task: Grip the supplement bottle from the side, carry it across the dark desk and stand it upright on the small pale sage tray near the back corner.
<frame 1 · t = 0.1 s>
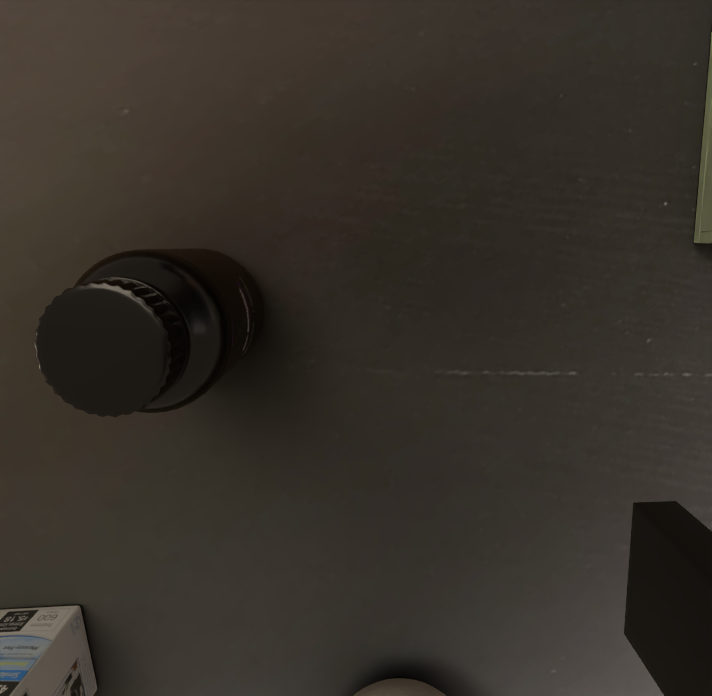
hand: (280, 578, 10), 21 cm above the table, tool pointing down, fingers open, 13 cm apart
supplement bottle: (206, 307, 30), on the table
light bulb box: (14, 649, 35), on the table
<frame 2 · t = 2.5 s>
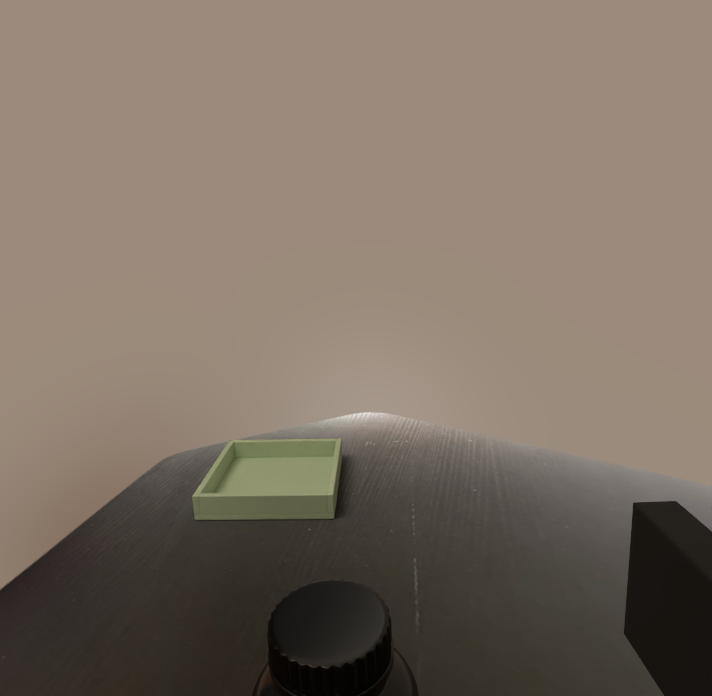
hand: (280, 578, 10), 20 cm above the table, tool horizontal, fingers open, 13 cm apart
tray: (276, 485, 56), on the table
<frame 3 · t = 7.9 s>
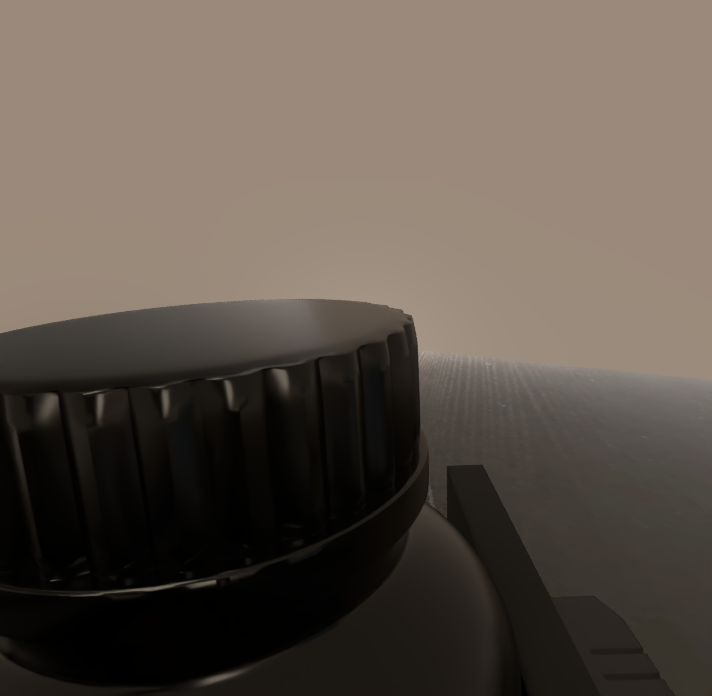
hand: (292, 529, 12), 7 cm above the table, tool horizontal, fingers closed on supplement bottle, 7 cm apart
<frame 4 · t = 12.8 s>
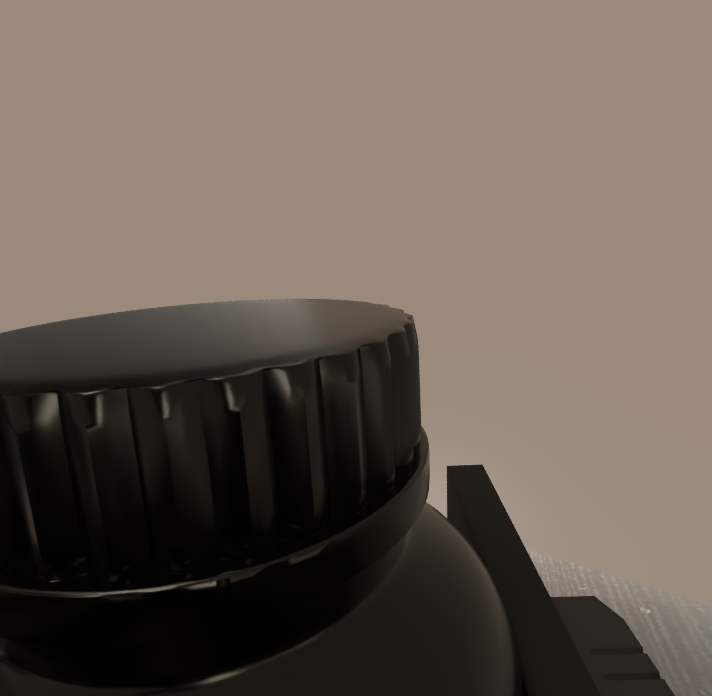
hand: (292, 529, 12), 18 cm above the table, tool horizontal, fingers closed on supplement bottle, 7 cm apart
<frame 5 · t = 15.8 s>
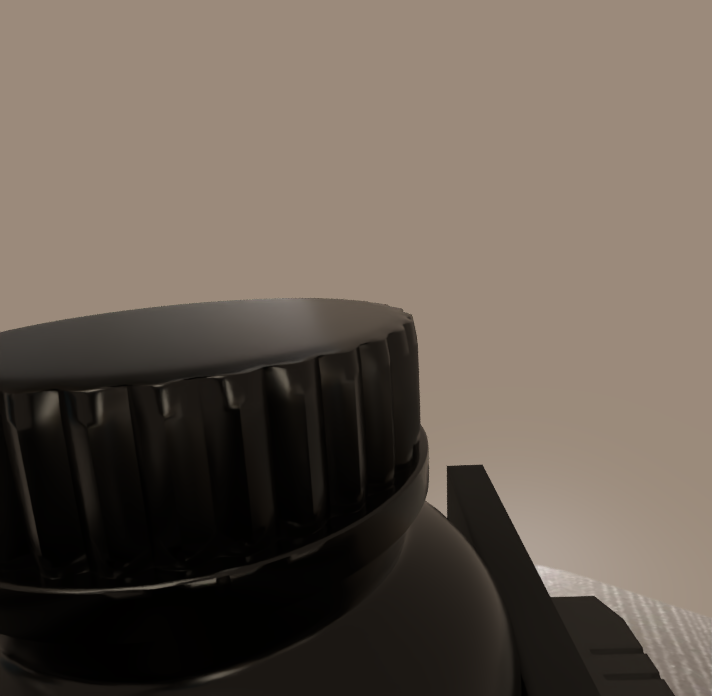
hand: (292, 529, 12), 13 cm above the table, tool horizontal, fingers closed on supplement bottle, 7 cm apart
when the fingers open (7 cm above the table, at t = 17.8 s): supplement bottle stays where it is, resting on tray.
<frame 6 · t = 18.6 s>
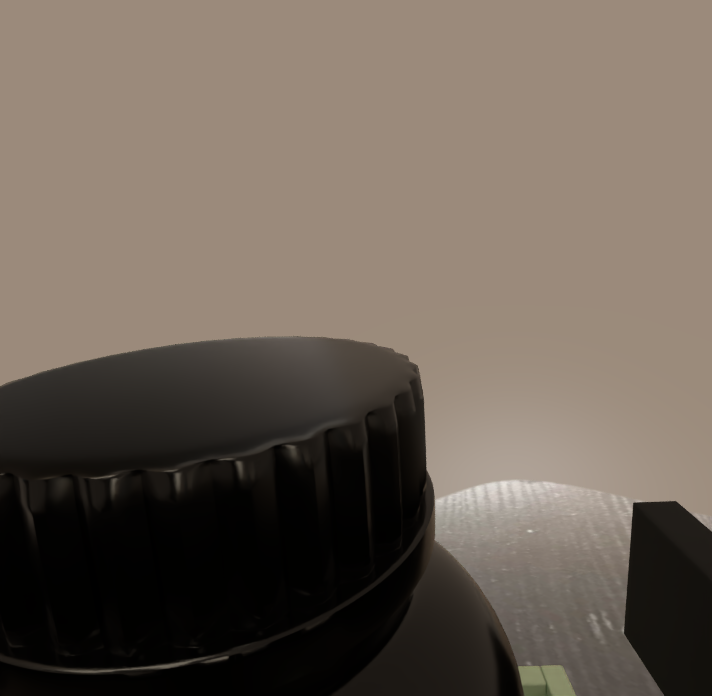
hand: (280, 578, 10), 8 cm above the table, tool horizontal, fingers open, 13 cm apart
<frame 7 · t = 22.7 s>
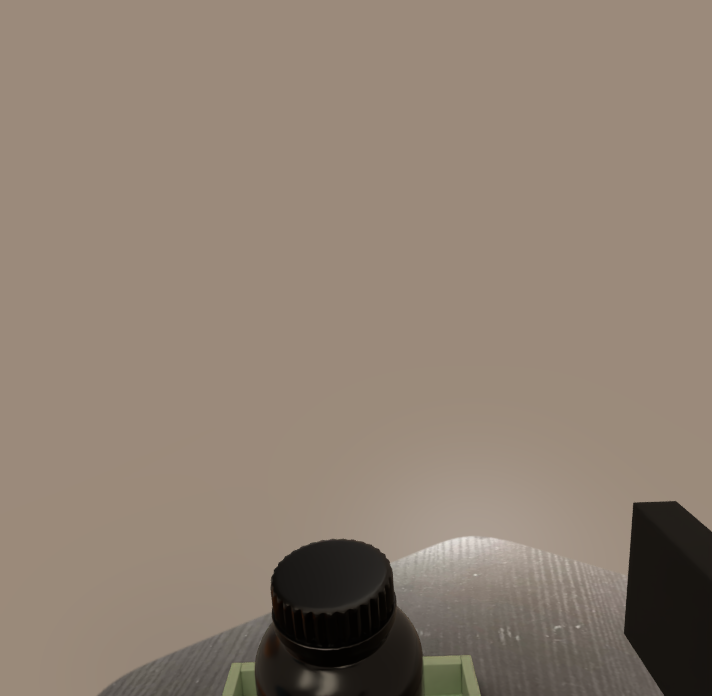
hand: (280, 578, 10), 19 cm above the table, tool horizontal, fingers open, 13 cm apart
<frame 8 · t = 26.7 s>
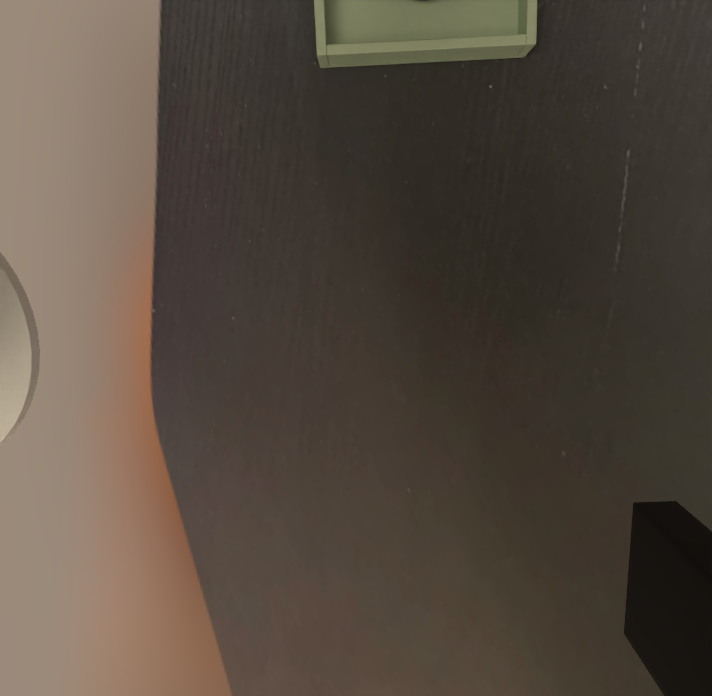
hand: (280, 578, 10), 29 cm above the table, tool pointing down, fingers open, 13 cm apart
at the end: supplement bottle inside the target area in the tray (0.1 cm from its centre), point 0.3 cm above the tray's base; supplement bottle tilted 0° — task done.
